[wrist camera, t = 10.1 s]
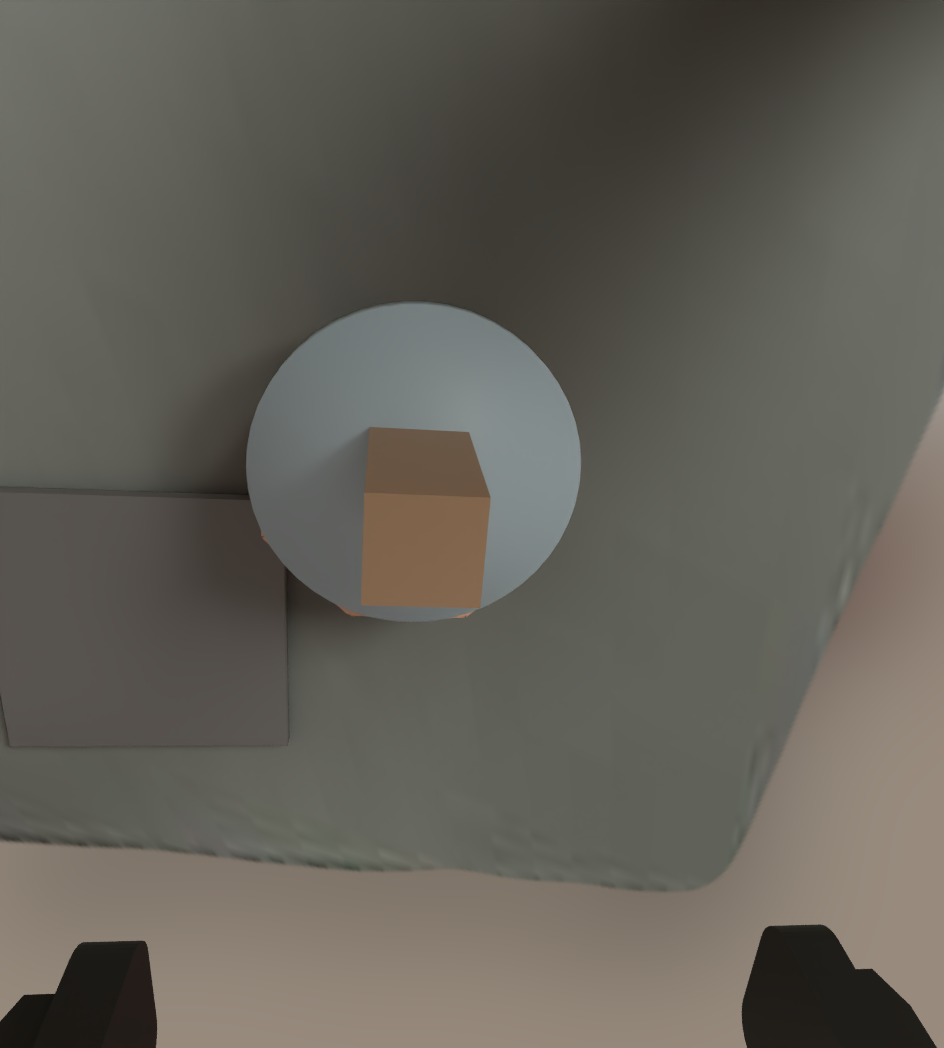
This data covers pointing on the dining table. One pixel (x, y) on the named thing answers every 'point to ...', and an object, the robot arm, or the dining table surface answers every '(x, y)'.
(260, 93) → the dining table surface
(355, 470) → the lid
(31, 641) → the mat
